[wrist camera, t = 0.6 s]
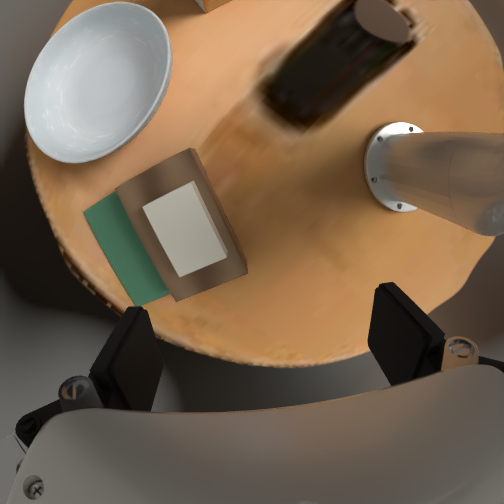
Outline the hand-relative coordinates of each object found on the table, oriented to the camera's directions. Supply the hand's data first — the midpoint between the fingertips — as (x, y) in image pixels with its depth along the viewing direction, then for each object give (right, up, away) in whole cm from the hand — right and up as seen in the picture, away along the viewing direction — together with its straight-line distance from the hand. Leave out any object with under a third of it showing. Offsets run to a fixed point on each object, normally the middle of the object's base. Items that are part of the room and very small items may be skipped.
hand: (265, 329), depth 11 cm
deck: (-9, +7, +25) cm, 27 cm away
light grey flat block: (-8, +6, +21) cm, 23 cm away
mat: (-17, +3, +26) cm, 31 cm away
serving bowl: (-19, +25, +18) cm, 36 cm away
